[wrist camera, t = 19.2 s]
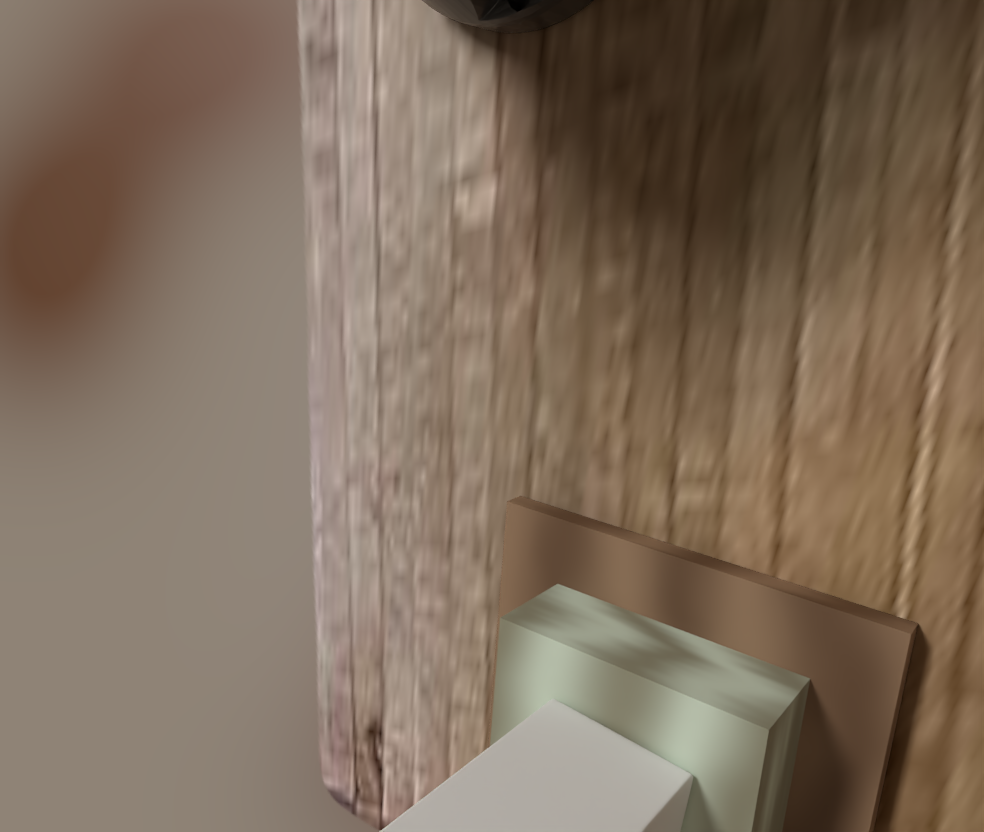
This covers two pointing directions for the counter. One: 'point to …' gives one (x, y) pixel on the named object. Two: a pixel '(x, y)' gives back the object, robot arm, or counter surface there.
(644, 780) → the milk carton
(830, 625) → the tower base
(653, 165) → the counter surface
